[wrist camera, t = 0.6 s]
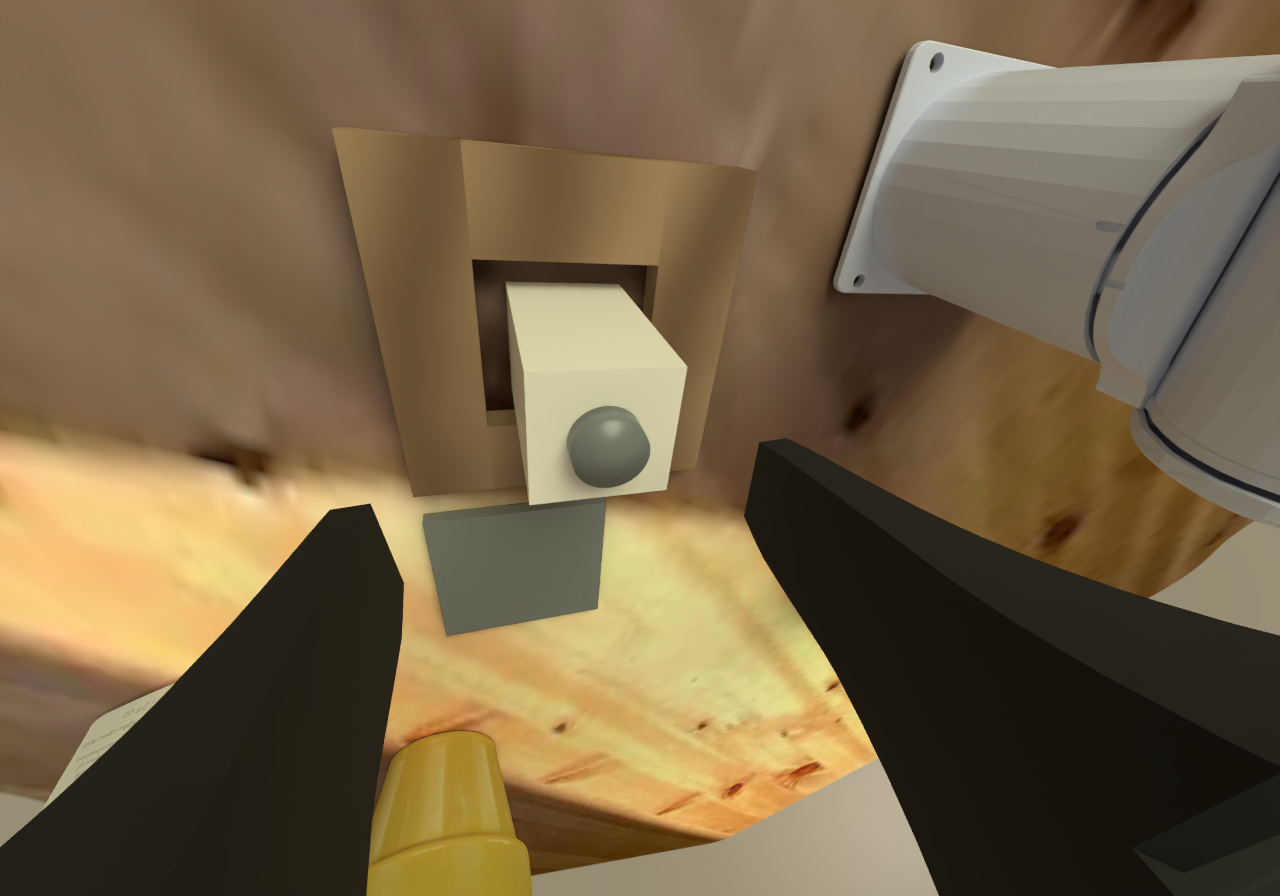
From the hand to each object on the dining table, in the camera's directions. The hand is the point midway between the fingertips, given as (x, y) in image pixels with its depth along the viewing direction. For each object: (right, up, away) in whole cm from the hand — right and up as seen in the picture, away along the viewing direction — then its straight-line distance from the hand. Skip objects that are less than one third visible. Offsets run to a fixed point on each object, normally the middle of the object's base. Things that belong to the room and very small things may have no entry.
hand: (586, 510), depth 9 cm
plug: (-2, +5, +9) cm, 10 cm away
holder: (-2, +5, +9) cm, 10 cm away
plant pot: (-13, -20, +23) cm, 33 cm away
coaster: (-5, -5, +15) cm, 16 cm away
